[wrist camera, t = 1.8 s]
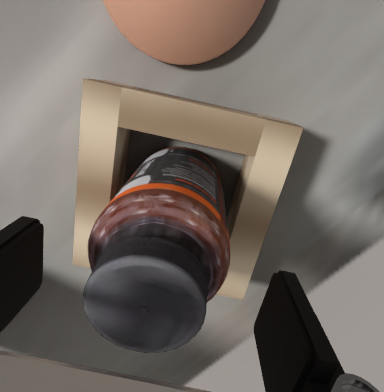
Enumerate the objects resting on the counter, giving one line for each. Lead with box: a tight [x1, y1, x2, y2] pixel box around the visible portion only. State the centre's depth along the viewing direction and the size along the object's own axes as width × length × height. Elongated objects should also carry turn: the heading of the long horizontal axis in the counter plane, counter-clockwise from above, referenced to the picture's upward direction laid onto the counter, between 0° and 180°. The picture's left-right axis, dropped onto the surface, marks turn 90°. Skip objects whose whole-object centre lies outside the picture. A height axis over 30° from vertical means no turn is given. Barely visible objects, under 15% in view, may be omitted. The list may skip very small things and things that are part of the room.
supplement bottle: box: [83, 147, 230, 353], centre depth 14 cm, size 6×6×11 cm
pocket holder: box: [73, 79, 303, 300], centre depth 18 cm, size 12×12×3 cm
